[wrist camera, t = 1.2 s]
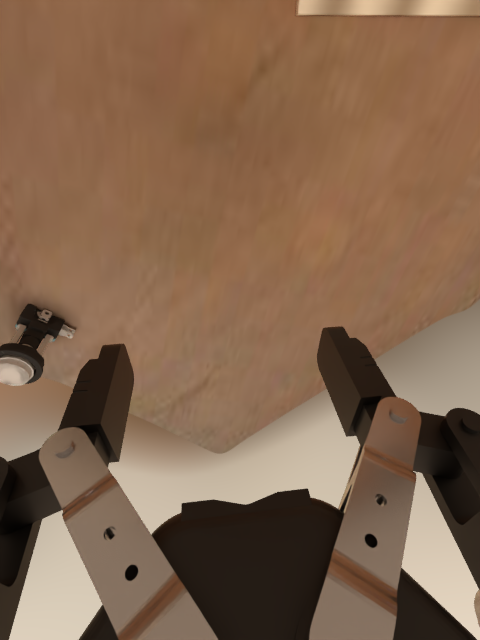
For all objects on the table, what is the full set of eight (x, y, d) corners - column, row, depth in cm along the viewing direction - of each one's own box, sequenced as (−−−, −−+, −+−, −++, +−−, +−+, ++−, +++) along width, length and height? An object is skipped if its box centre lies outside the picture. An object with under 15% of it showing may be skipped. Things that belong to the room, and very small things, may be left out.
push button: (83, 317, 43) (58, 373, 35) (68, 342, 45) (41, 400, 37) (29, 294, 40) (-11, 350, 32) (16, 322, 42) (-25, 380, 34)
